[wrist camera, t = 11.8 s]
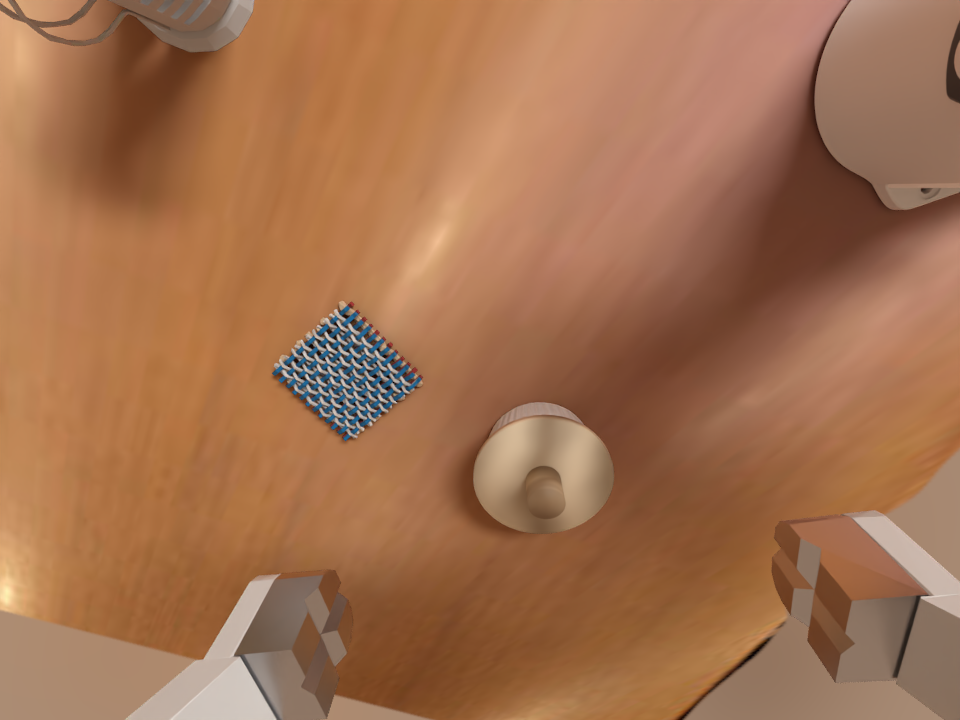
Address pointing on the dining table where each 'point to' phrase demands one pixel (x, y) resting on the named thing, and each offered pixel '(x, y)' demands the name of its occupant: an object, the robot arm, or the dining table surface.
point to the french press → (165, 21)
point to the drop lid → (543, 474)
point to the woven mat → (347, 372)
